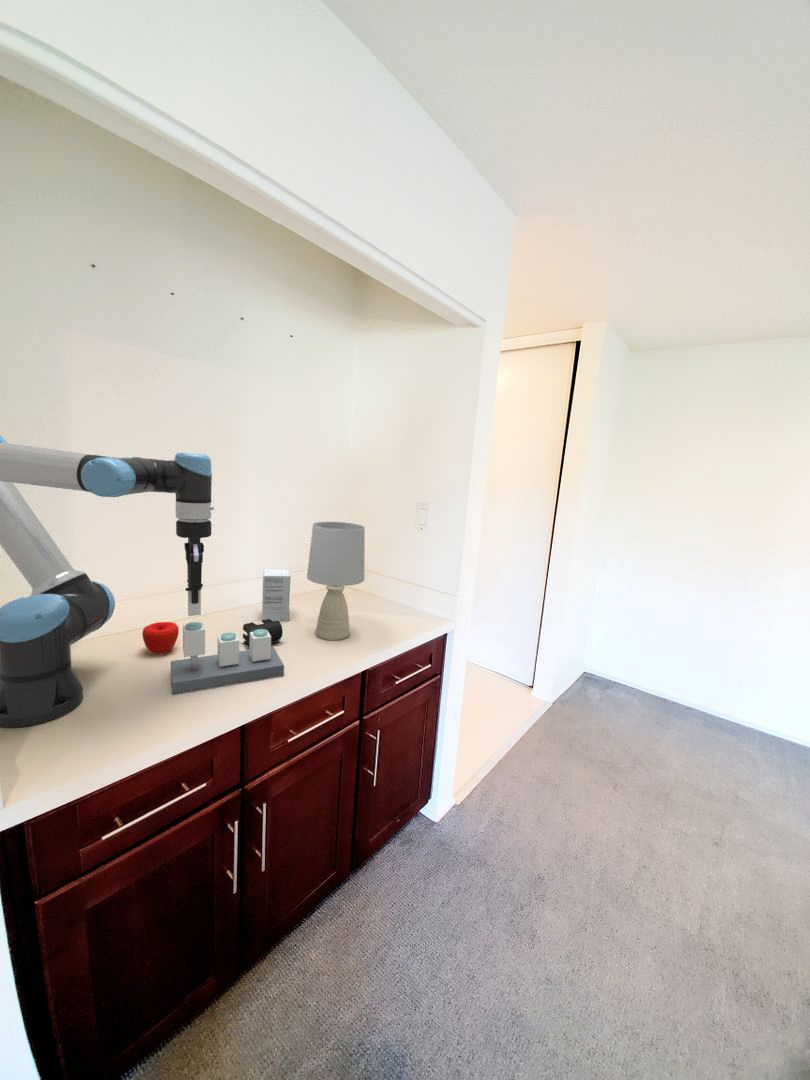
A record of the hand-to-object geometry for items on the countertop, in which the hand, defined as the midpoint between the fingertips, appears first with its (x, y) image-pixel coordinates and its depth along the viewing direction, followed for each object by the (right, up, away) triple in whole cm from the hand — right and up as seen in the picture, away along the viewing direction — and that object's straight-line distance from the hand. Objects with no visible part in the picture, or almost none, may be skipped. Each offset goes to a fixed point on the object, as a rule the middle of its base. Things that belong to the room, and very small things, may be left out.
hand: (194, 614), depth 104 cm
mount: (+5, -17, +7) cm, 19 cm away
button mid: (+6, -13, +6) cm, 16 cm away
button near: (-1, -10, +2) cm, 10 cm away
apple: (-18, -14, +16) cm, 28 cm away
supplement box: (+5, -10, +49) cm, 50 cm away
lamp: (+28, -14, +38) cm, 49 cm away
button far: (+13, -13, +10) cm, 21 cm away
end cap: (+8, -14, +27) cm, 31 cm away
